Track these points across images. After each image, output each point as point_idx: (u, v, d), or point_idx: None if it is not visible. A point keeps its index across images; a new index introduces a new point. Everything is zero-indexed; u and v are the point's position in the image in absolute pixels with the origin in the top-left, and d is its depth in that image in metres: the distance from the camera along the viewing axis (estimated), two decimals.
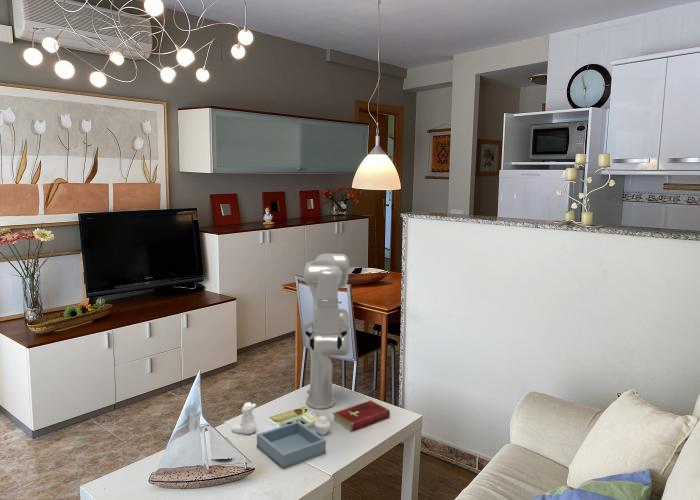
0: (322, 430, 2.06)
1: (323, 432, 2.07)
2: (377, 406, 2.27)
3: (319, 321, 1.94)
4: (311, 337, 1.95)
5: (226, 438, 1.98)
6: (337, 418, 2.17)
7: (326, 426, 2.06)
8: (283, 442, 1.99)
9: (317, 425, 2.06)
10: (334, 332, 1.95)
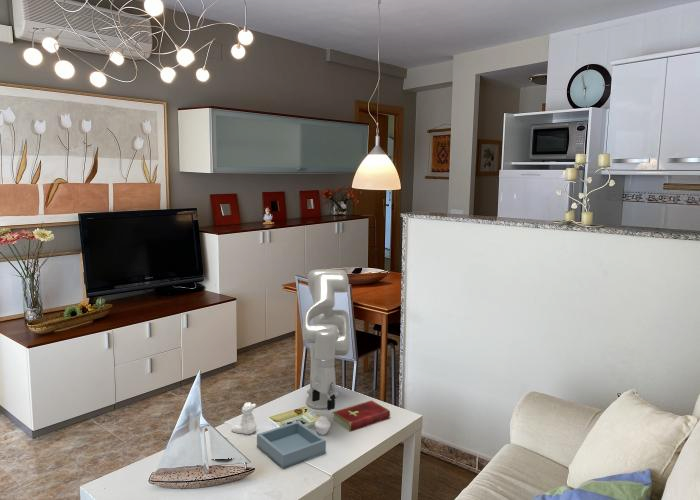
0: (322, 430, 2.06)
1: (323, 432, 2.07)
2: (378, 406, 2.27)
3: None
4: None
5: (226, 438, 1.98)
6: (336, 417, 2.18)
7: (326, 426, 2.06)
8: (283, 442, 1.99)
9: (317, 425, 2.06)
10: None
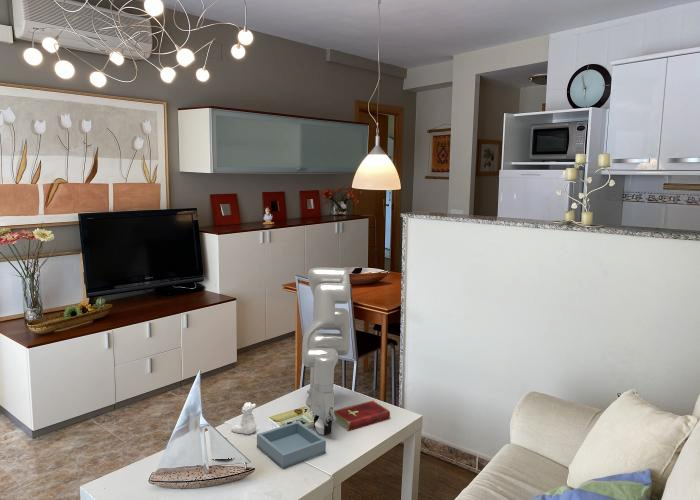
0: (322, 430, 2.06)
1: (323, 432, 2.07)
2: (378, 406, 2.26)
3: None
4: None
5: (226, 438, 1.98)
6: (336, 417, 2.19)
7: None
8: (283, 442, 1.99)
9: (317, 425, 2.06)
10: None
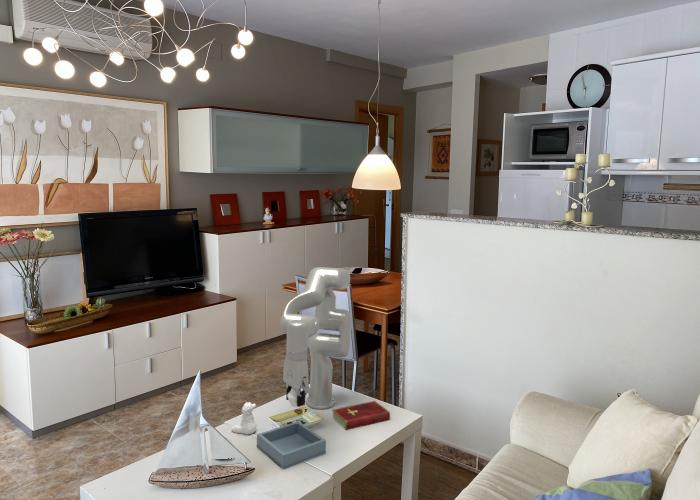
0: (295, 401, 1.91)
1: (296, 404, 1.92)
2: (379, 407, 2.26)
3: None
4: None
5: None
6: (335, 415, 2.20)
7: None
8: (283, 442, 1.99)
9: (290, 396, 1.91)
10: None
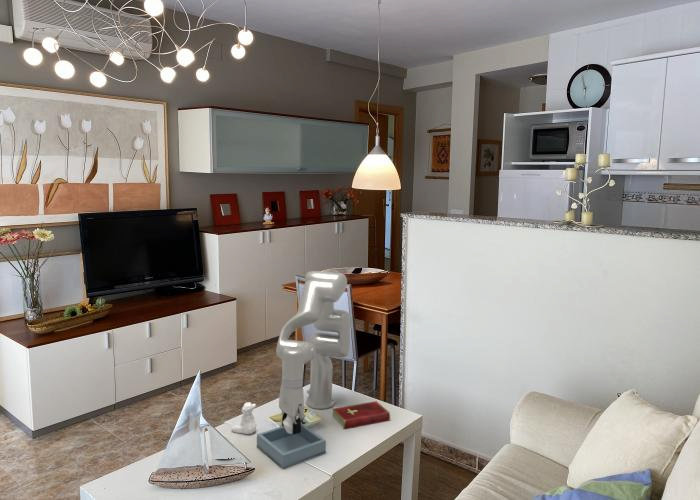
0: (290, 428, 1.91)
1: (292, 431, 1.92)
2: (380, 407, 2.25)
3: None
4: None
5: None
6: (335, 414, 2.21)
7: None
8: (283, 442, 1.99)
9: (285, 423, 1.92)
10: None
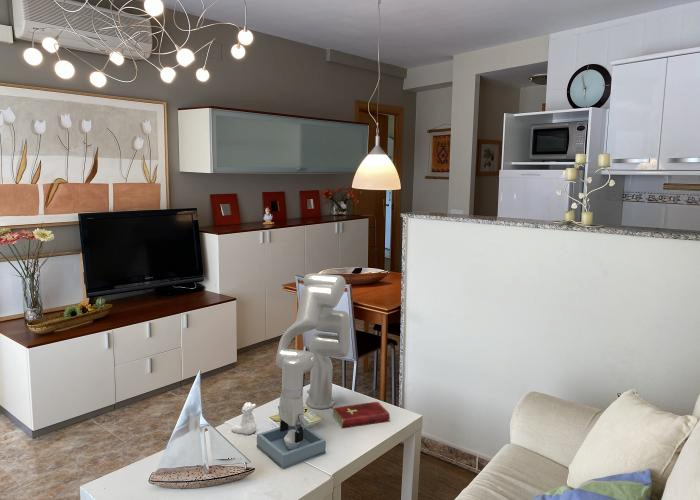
0: (291, 444, 1.92)
1: (292, 447, 1.93)
2: (380, 408, 2.25)
3: None
4: None
5: None
6: (334, 413, 2.22)
7: None
8: (283, 442, 1.99)
9: (286, 439, 1.93)
10: None
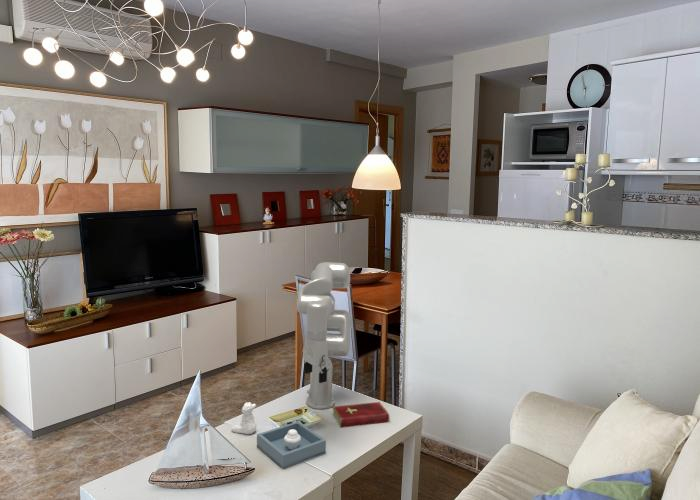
0: (291, 444, 1.92)
1: (292, 447, 1.93)
2: (380, 408, 2.25)
3: None
4: None
5: None
6: (334, 412, 2.23)
7: (295, 441, 1.92)
8: (283, 442, 1.99)
9: (286, 439, 1.93)
10: None
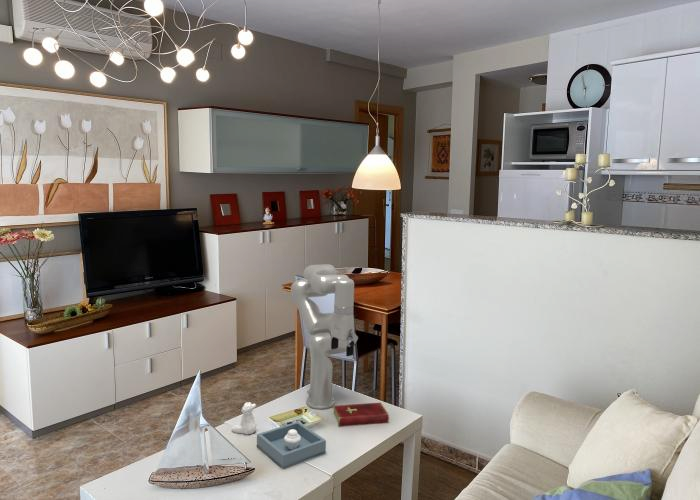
0: (291, 444, 1.92)
1: (292, 447, 1.93)
2: (381, 408, 2.24)
3: None
4: None
5: None
6: (334, 411, 2.24)
7: (295, 441, 1.92)
8: (283, 442, 1.99)
9: (286, 439, 1.93)
10: None
